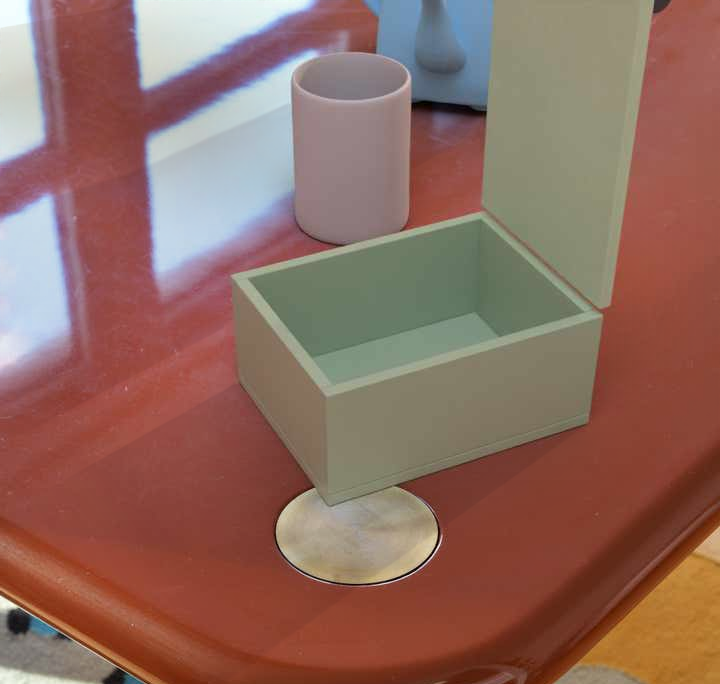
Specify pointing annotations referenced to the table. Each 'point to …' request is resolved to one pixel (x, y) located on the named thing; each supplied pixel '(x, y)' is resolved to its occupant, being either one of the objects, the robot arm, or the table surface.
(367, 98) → the mug
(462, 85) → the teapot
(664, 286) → the table surface
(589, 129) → the green box lid
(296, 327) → the green hinged box
